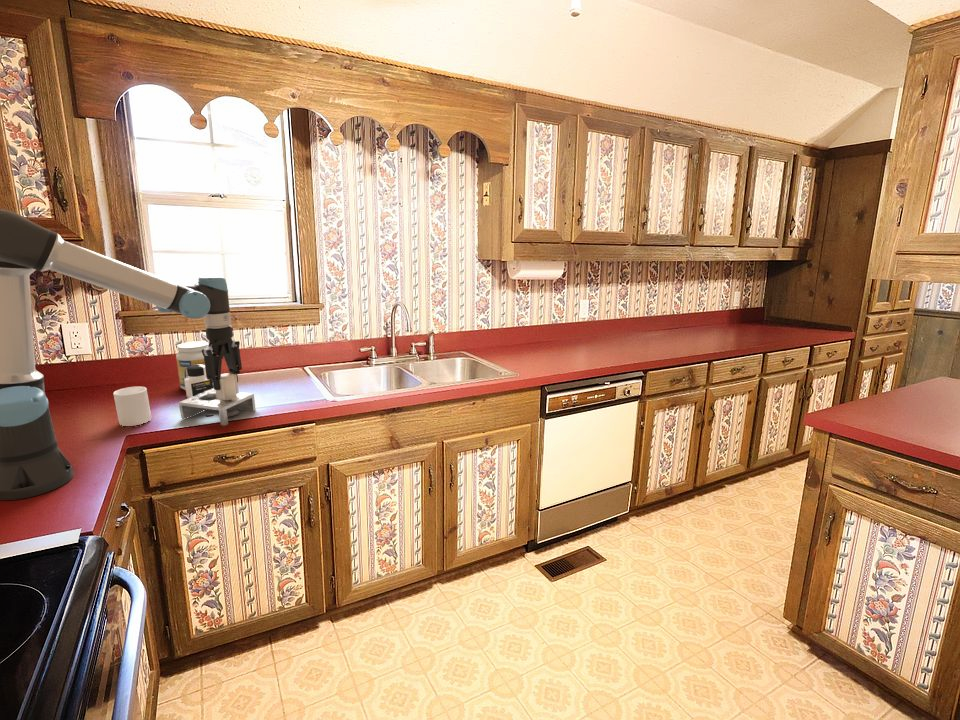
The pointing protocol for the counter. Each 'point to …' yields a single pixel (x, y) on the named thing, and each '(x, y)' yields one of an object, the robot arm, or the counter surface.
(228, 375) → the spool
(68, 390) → the counter surface
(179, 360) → the supplement tub
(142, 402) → the mug
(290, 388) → the counter surface
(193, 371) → the medicine bottle
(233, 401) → the white table-shaped stand
